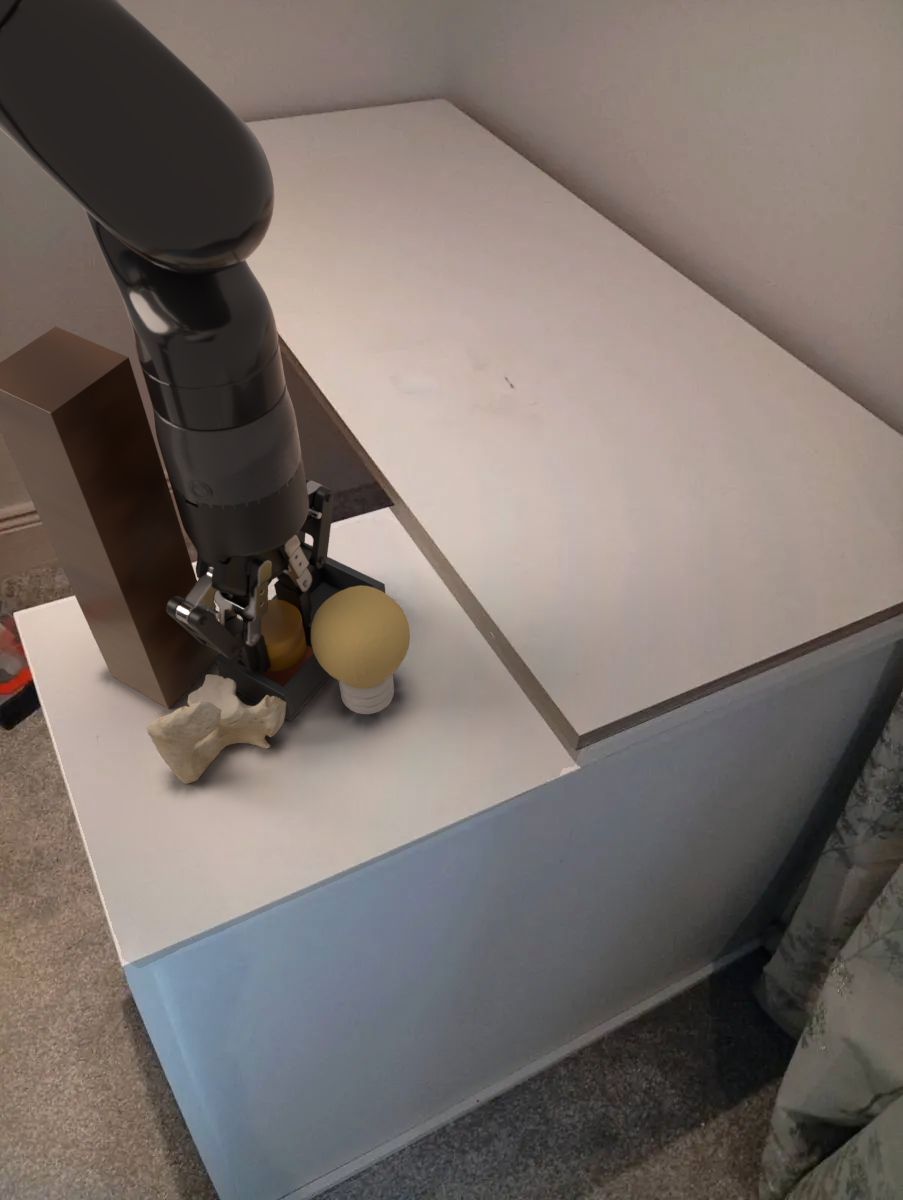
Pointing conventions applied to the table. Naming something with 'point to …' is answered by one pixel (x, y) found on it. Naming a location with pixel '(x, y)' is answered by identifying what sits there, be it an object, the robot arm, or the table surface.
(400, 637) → the light bulb
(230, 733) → the bone
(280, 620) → the cylinder
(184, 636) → the block
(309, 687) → the dark grey open box
